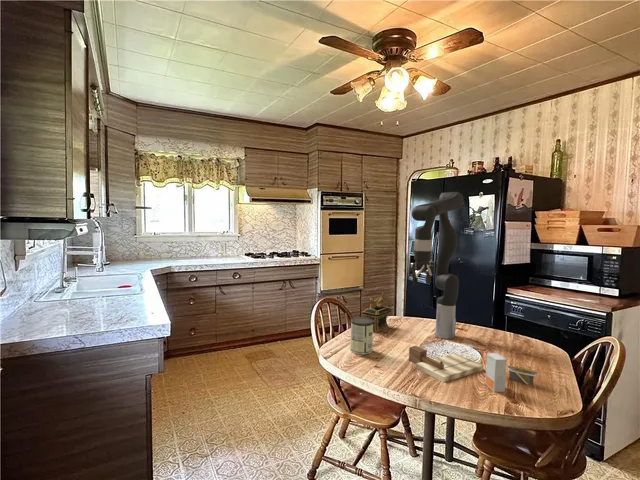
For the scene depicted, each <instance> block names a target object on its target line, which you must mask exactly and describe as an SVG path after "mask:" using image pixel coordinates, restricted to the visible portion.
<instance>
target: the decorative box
mask: <svg viewBox="0 0 640 480" xmlns="http://www.w3.org/2000/svg"><path fill="white" fill-rule="evenodd" d="M381 293H382V294H381V296H378V297H377V298H375V299H374V298H373V297H370V298H369V303H370V305H369V307H367V308H365V309H364V310H363V312H362V314H363V316H364V317H365V318H369V319H372V320H373V321H374V323H373V333H379V332H381V331H383V330H385V329H387V328H389V324H388V323H387V318H388V316H389V315H390V314H391V313H392V311H393V310H392V309H391V308H390V307H389V306H385V305H384V303H385V301H387V300H388V299H389V297H390V296H389V295H388V296H385V294H384V292H383V291H382V292H381ZM376 301H377V302H376Z"/></svg>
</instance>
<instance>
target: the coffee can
mask: <svg viewBox="0 0 640 480" xmlns="http://www.w3.org/2000/svg"><path fill="white" fill-rule="evenodd" d="M373 323H374V321H373V320H372V319H369V318H367V317H365V316H364V317H361V316H358V317H353V318H351V319H350V343H349V344H350V345H349V346H350V347H349V350H350V352H351V353H353V354H355V355H356V354H357V355H369V354H371V353H373V343H374V342H373V341H374V339H373V338H374V332H373Z"/></svg>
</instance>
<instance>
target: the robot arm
mask: <svg viewBox="0 0 640 480" xmlns="http://www.w3.org/2000/svg"><path fill="white" fill-rule="evenodd" d="M463 205H464V196H463V194H462V193H461V192H459V191H449V192H446V191H445V192H441V193H440V195H439V198H438V199H437V200H433V201H430V202H428V203H422V204H417V205H415V206H414V207H413V208H412V210H411V217H412V218H413V220H414V221H417V222H424V223H423V225H421V226H416V228H415V230H414V231H415V232H414V233H415V234H414V244H413V246H414V247H413V249H414V250H413V259H414V261H415V262H410V263H409V267H408V269H409V270H408V276H409V277H412V280H411V281H412V282H411V283H412V286H414V287H418V284H419V283H418V280H419V279H418V277H419V275H421V273H425V284H426V285H431V284H432V283H431V282H432V276H433V275H435V276H434V285H435V288H437V290H441V291H443V295H442V296H439V297H437V299H436V312H435V313H436V319H435V334H434V335H435V337H436V338H440V339H443V340H444V339H445V340H452V339H454V338H455V337H456V328H457V327H456V325H457V319H456V304H457V300H458V298H459V287H460V280H459V277H458V276H457V275H456V274H452V273H449V265H450V262H451V260H452V259H453V256H455V253H456V252H457V248H458V235H457V231H456V230H455V228H454V227H453V225H452V223H451V221H450V219H449V212H450V211H457V210H458V211H459V210H460V209H462V207H463ZM437 216H438V221H439V224H438V225H439V226H438V241H437V243H438V244H437V245H438V247H437V263H436V265H435V261H431V260H432V232H433V231H432V230H433V226H434V223H435V220H436V217H437ZM435 266H436V268H435Z"/></svg>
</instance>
